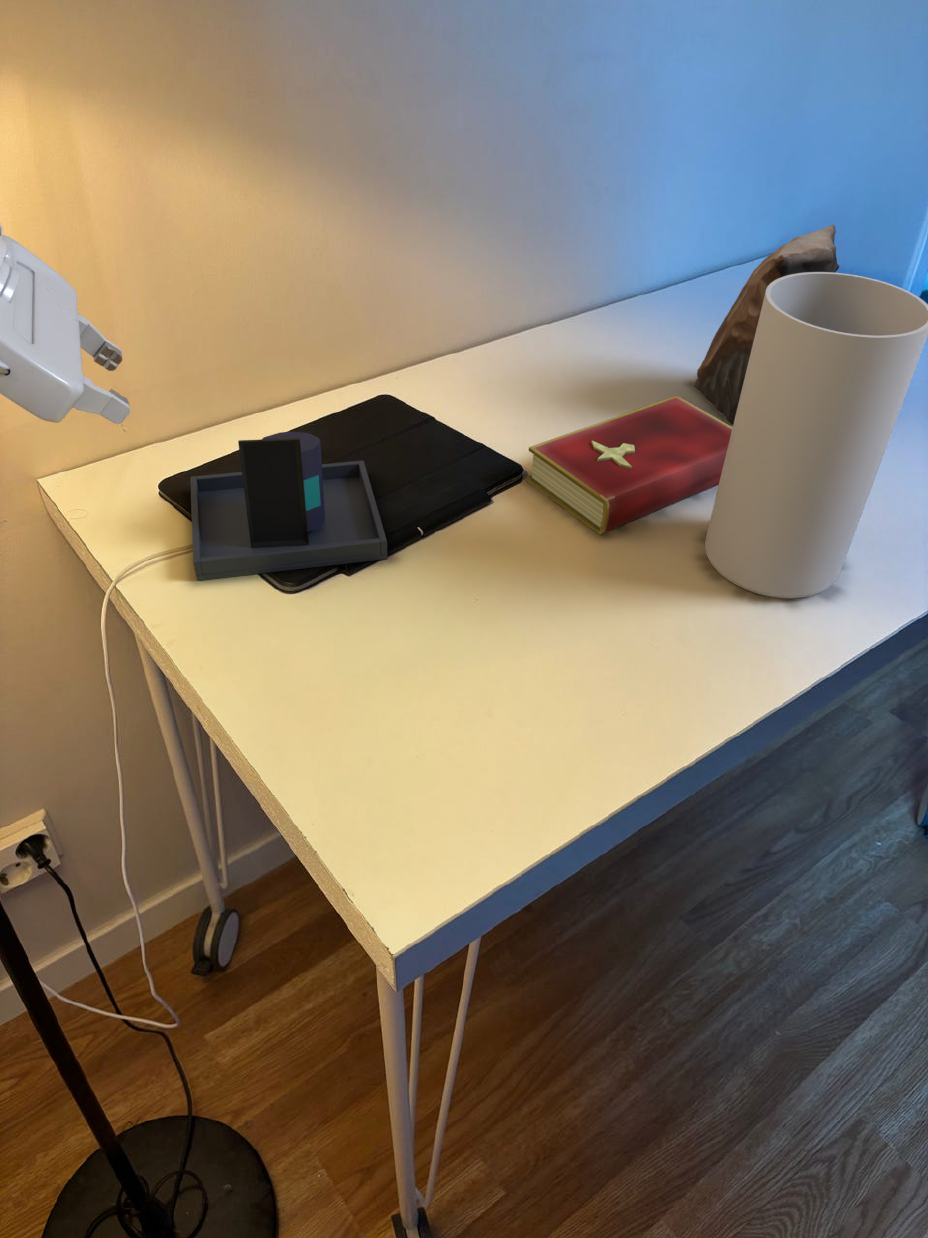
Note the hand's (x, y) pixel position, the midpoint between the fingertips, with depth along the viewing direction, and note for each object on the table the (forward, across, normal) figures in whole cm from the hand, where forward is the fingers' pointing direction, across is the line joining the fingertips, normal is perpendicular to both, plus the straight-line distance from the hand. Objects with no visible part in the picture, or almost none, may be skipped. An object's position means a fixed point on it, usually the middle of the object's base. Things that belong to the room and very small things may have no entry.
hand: (121, 386), depth 78 cm
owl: (+61, +11, -37) cm, 72 cm away
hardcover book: (+47, -1, -23) cm, 52 cm away
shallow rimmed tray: (+20, 0, +3) cm, 20 cm away
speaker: (+20, 0, +3) cm, 20 cm away
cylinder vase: (+50, -18, -26) cm, 60 cm away
